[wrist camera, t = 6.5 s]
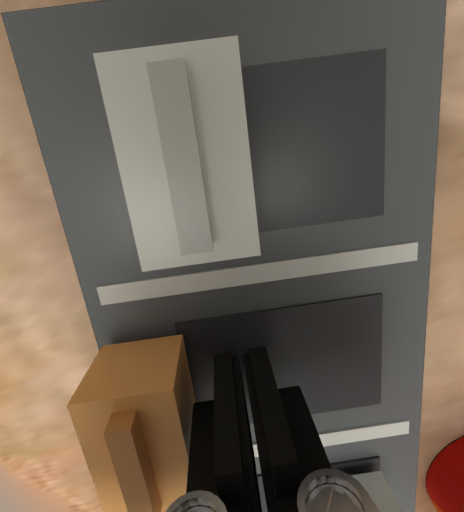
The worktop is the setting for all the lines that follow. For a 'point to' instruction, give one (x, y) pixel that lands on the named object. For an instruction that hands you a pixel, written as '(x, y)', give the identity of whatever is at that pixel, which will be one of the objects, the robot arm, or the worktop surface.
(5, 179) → the worktop surface
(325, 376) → the switch panel
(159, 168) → the switch
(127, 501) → the switch
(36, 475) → the worktop surface
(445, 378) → the worktop surface
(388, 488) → the switch
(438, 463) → the coffee cup
